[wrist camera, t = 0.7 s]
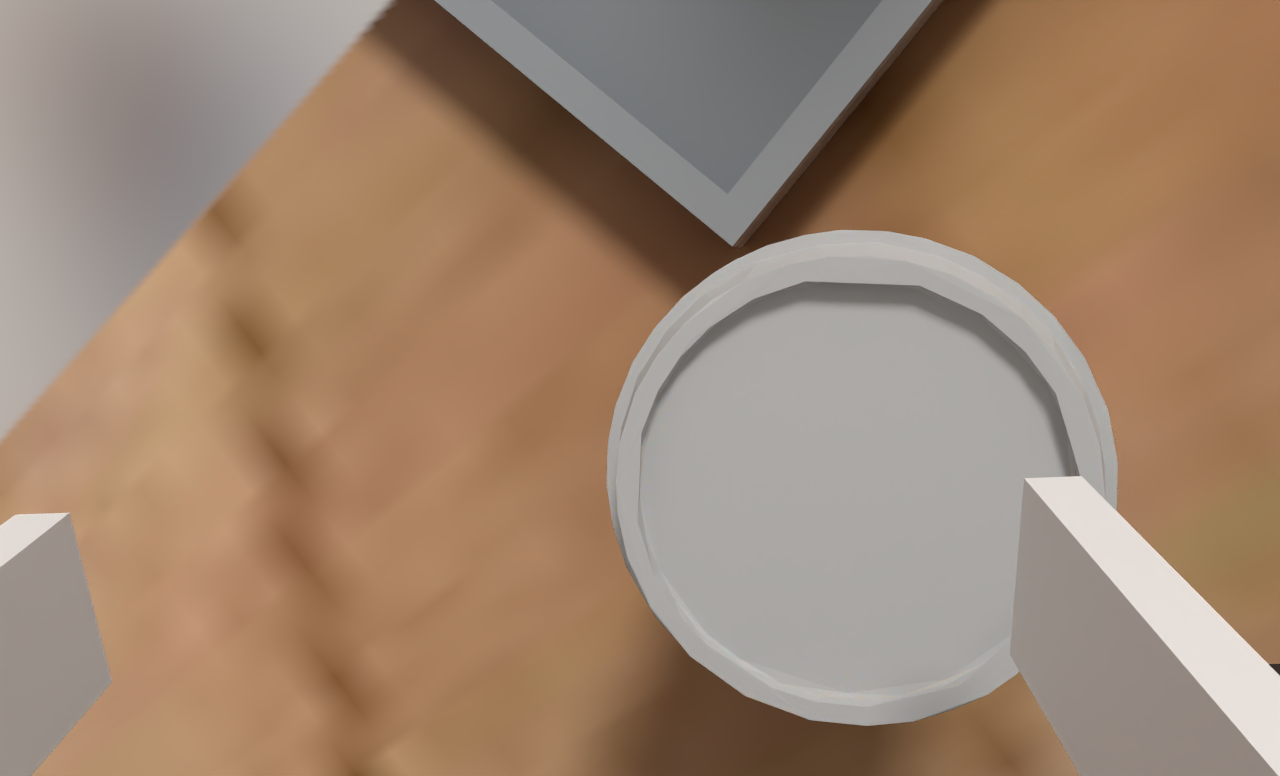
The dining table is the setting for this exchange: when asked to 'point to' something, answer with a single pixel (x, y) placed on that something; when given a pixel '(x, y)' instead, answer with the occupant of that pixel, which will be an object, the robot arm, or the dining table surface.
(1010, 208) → the dining table surface
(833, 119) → the grey square tray
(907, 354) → the disposable coffee cup
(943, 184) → the dining table surface
